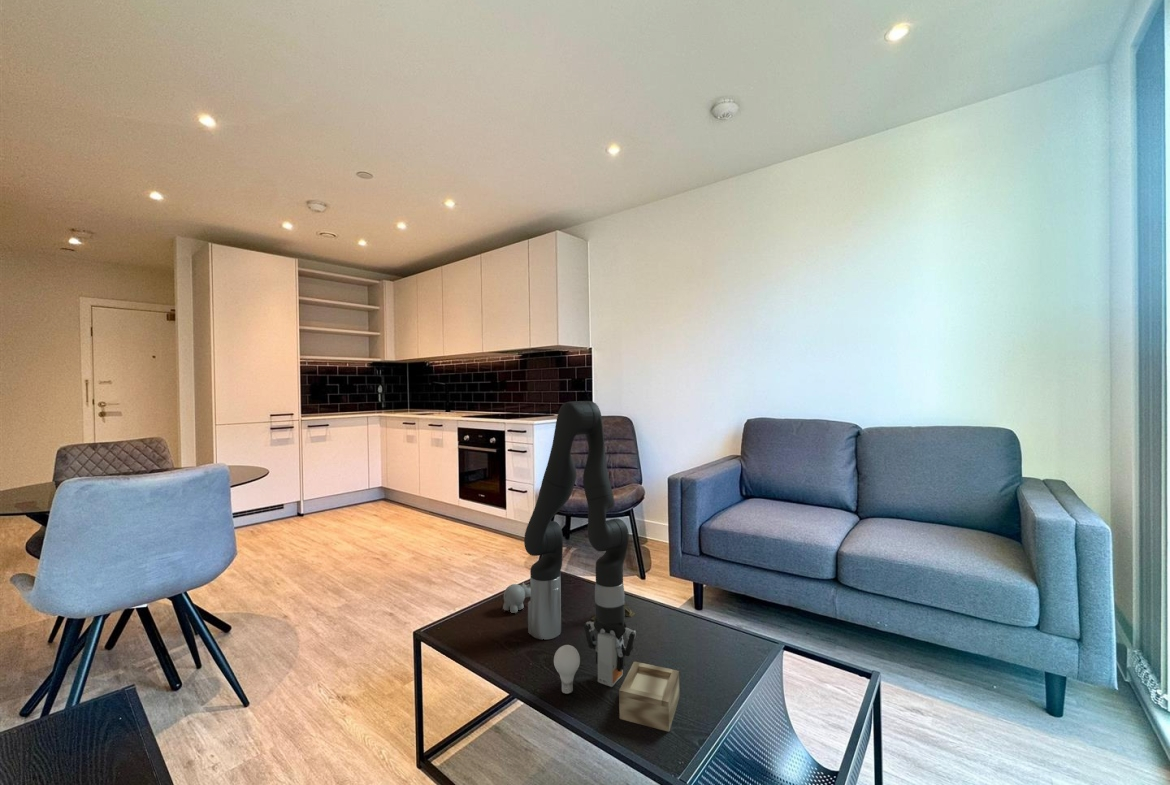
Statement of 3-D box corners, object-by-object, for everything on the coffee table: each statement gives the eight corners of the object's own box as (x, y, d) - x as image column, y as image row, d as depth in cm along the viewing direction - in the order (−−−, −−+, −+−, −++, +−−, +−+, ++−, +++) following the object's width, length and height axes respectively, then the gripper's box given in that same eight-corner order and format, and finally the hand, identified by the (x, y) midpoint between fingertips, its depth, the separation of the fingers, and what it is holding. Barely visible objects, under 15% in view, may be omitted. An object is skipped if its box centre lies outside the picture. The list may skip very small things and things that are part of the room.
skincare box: (612, 688, 110) (611, 638, 111) (597, 682, 113) (596, 634, 113) (623, 675, 115) (622, 627, 116) (609, 670, 118) (608, 623, 118)
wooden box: (619, 718, 100) (619, 690, 100) (634, 686, 111) (634, 661, 111) (669, 731, 95) (668, 702, 96) (679, 697, 106) (678, 670, 107)
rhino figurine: (539, 604, 157) (539, 579, 157) (513, 617, 148) (513, 591, 148) (525, 599, 162) (525, 575, 162) (499, 611, 152) (498, 585, 152)
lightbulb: (553, 685, 112) (553, 640, 112) (579, 683, 112) (578, 639, 112) (554, 702, 105) (553, 654, 106) (581, 700, 106) (580, 653, 106)
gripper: (578, 601, 114) (578, 669, 113) (632, 610, 108) (633, 682, 108) (589, 589, 121) (589, 654, 120) (640, 597, 115) (641, 665, 115)
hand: (610, 667), depth 114 cm, fingers closed on skincare box, 4 cm apart
